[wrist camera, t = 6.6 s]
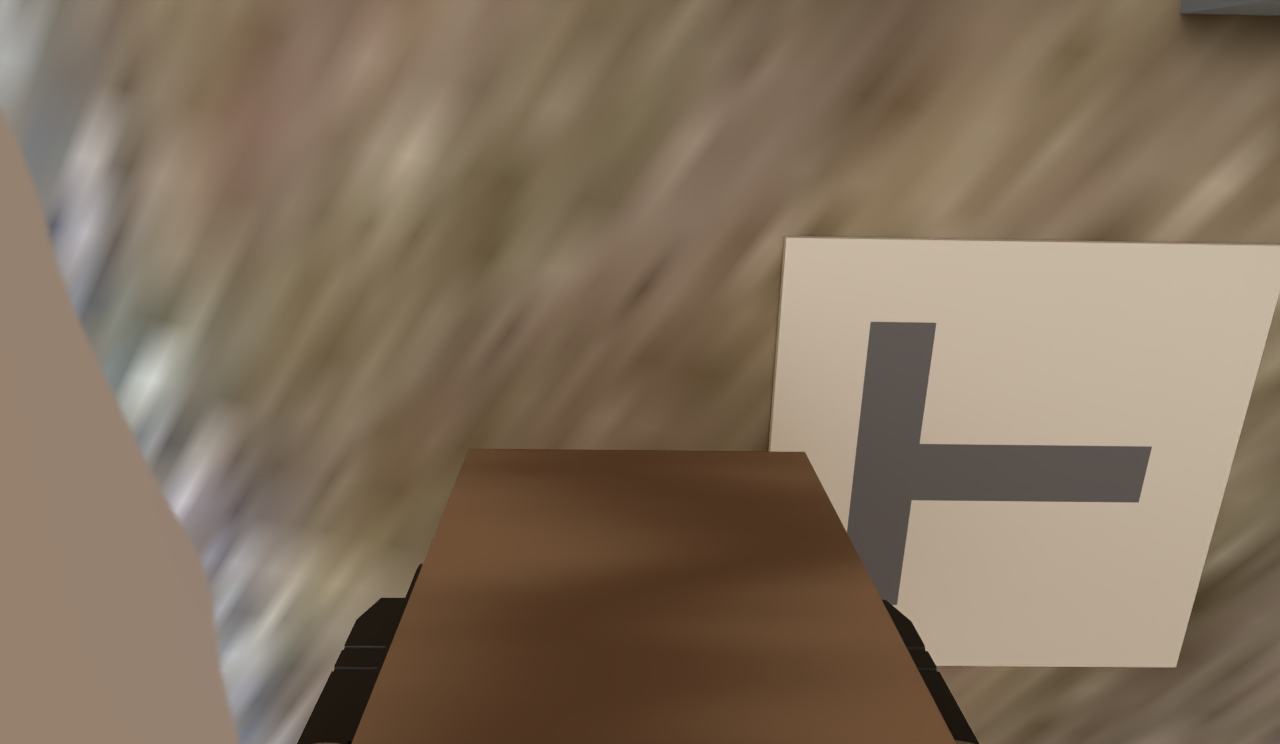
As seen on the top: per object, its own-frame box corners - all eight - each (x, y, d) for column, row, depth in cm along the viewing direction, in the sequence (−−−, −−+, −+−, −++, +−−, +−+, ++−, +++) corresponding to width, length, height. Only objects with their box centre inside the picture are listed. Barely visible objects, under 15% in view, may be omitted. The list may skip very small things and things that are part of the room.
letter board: (1283, 243, 29) (1292, 245, 29) (1170, 661, 35) (1175, 667, 35) (784, 235, 29) (786, 237, 29) (752, 658, 35) (754, 664, 34)
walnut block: (804, 452, 12) (968, 767, 7) (778, 719, 14) (890, 1156, 8) (469, 448, 12) (341, 771, 6) (482, 720, 14) (390, 1165, 8)
